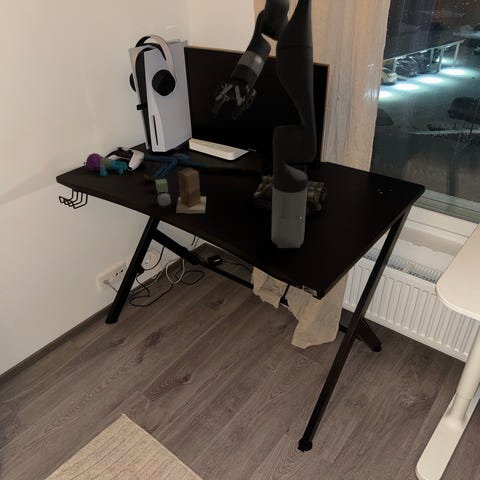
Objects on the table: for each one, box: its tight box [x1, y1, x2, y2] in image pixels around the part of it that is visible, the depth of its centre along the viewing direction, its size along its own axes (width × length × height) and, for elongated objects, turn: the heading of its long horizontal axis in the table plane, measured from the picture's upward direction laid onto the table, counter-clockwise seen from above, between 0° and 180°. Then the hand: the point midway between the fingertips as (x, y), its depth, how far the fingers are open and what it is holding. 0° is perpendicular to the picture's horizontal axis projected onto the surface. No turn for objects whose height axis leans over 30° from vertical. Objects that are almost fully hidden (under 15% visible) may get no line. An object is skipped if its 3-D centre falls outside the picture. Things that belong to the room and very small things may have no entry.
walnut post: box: [177, 167, 201, 208], centre depth 144 cm, size 4×4×11 cm
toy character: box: [142, 152, 211, 184], centre depth 171 cm, size 30×4×25 cm
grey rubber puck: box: [157, 193, 172, 206], centre depth 149 cm, size 4×4×3 cm
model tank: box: [253, 164, 328, 216], centre depth 145 cm, size 13×22×15 cm, turn 72°
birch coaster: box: [175, 196, 207, 214], centre depth 147 cm, size 9×9×1 cm
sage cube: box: [155, 178, 169, 194], centre depth 157 cm, size 4×4×4 cm
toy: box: [83, 152, 127, 177], centre depth 172 cm, size 12×7×15 cm
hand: (223, 115), depth 141 cm, fingers open, 8 cm apart
